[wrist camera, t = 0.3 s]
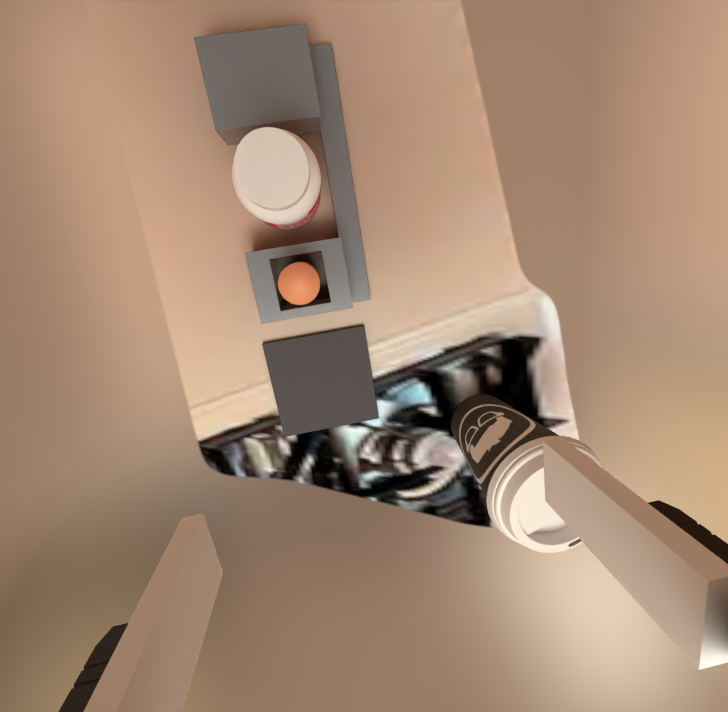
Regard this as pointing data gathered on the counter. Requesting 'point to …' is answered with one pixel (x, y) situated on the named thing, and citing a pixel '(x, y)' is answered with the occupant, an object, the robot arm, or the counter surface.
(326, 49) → the housing
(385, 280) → the counter surface
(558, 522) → the coffee cup
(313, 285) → the plunger
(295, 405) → the mat
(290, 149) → the pill bottle
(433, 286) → the counter surface
